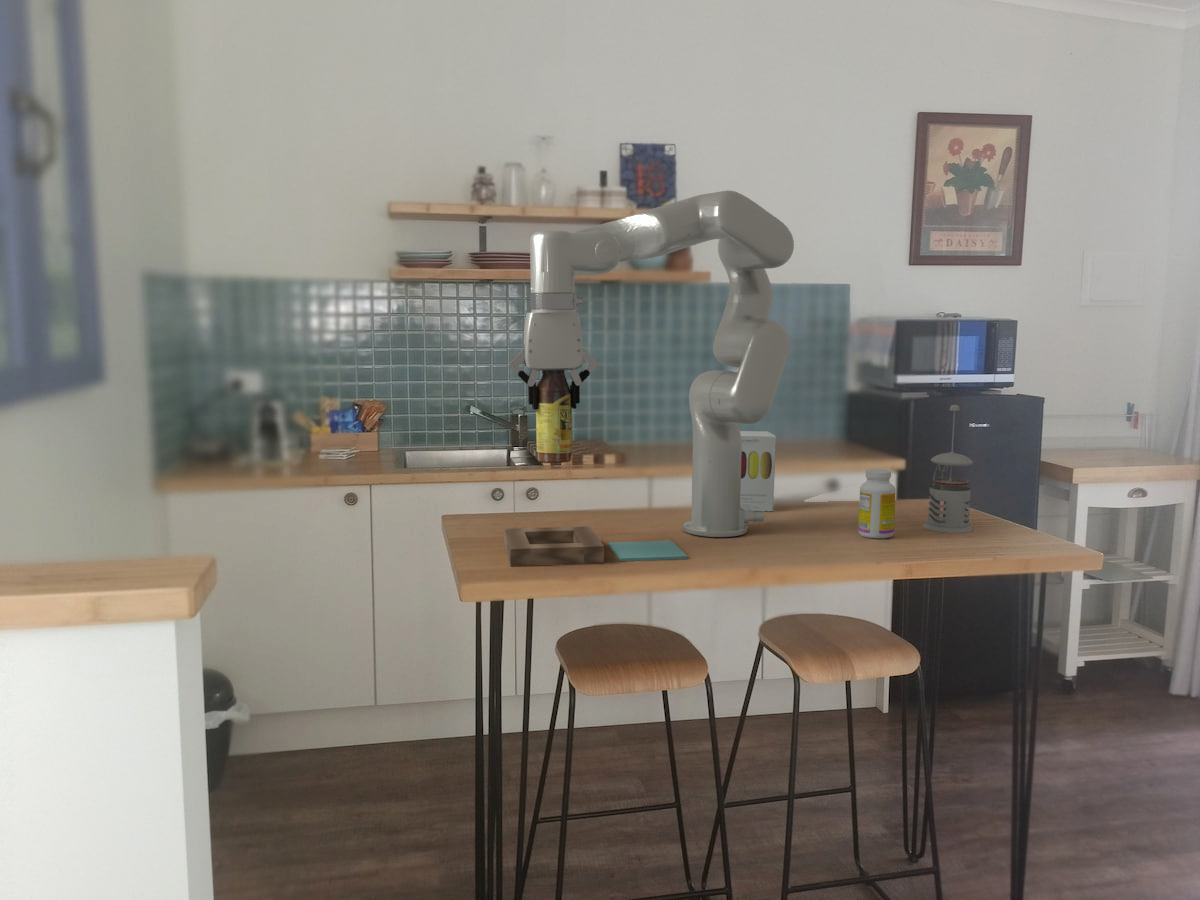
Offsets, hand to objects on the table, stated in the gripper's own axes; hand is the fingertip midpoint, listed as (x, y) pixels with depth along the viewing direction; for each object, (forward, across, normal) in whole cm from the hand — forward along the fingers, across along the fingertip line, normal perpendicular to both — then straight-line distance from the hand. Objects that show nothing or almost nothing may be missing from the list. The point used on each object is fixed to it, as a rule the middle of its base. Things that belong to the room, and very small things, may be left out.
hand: (554, 407), depth 171 cm
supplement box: (+27, -47, -36) cm, 65 cm away
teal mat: (+26, -16, +1) cm, 31 cm away
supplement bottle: (+27, -63, -6) cm, 69 cm away
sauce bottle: (+10, 0, 0) cm, 10 cm away
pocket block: (+26, +1, 0) cm, 26 cm away
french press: (+28, -81, -12) cm, 87 cm away
